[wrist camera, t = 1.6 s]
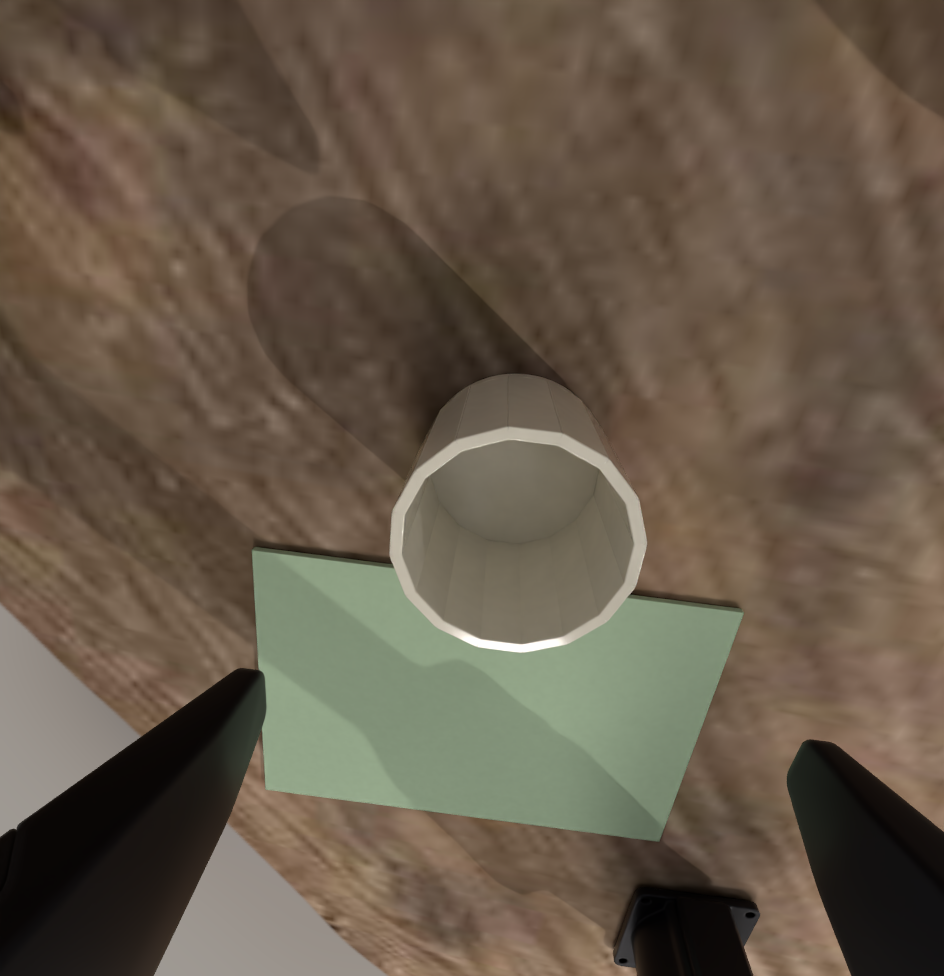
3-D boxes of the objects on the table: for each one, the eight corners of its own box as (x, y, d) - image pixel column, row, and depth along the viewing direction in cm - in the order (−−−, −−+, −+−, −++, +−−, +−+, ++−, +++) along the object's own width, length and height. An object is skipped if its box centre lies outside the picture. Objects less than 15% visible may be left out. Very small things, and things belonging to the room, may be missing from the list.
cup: (586, 552, 22) (614, 665, 16) (418, 531, 22) (384, 636, 16) (623, 385, 19) (674, 446, 13) (431, 362, 19) (396, 412, 13)
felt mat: (657, 836, 28) (659, 841, 28) (267, 784, 28) (265, 789, 28) (741, 608, 22) (744, 612, 22) (254, 546, 23) (251, 549, 22)
